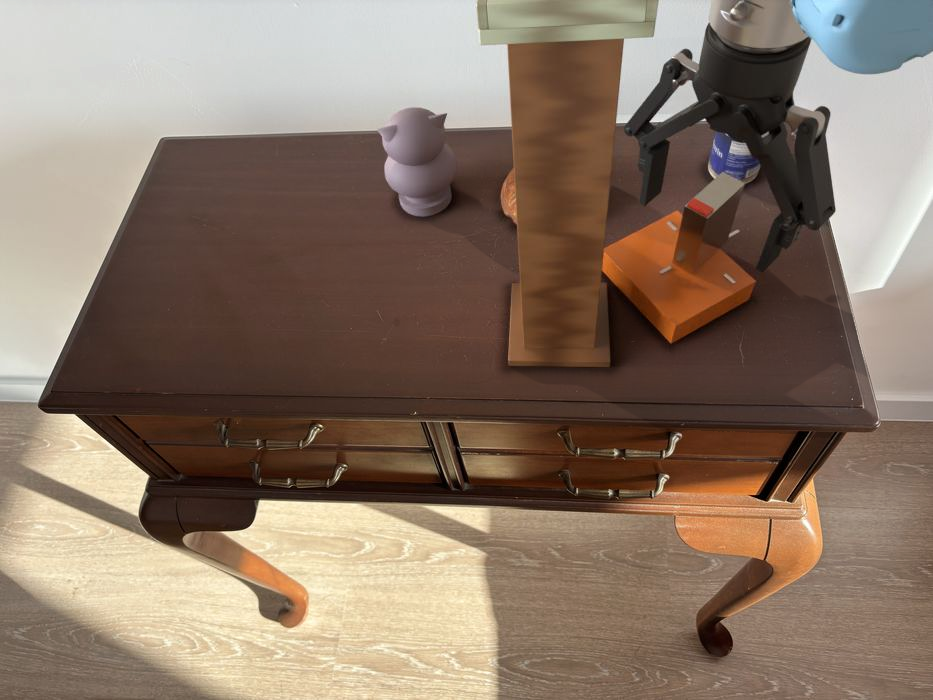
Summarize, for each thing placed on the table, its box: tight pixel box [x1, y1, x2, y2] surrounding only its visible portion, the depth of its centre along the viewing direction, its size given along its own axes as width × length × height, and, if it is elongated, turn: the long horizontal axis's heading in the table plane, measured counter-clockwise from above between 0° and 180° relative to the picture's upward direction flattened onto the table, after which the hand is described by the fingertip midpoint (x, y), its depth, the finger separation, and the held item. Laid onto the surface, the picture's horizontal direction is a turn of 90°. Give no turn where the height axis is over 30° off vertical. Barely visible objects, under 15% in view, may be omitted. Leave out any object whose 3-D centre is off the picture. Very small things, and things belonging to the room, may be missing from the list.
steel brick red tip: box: [672, 172, 746, 275], centre depth 68 cm, size 6×2×8 cm, turn 134°
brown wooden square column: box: [475, 0, 659, 368], centre depth 56 cm, size 10×10×38 cm
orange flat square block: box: [602, 210, 757, 344], centre depth 72 cm, size 12×13×3 cm
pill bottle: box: [707, 131, 769, 185], centre depth 78 cm, size 6×6×10 cm
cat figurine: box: [376, 106, 458, 218], centre depth 80 cm, size 8×8×12 cm
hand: (705, 228), depth 69 cm, fingers open, 13 cm apart
